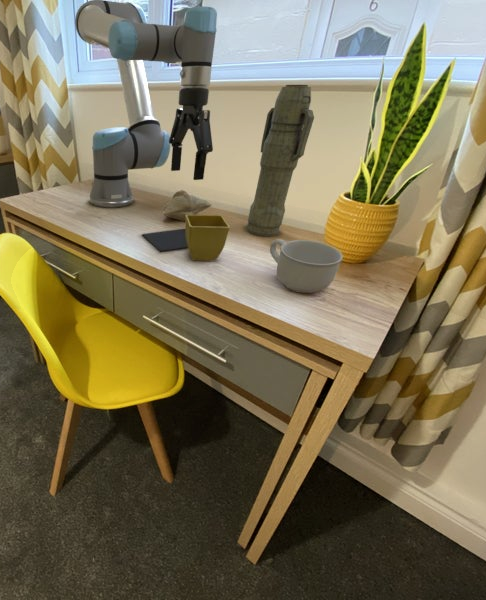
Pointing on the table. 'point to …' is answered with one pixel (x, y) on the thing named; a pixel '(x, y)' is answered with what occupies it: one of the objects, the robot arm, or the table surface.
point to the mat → (167, 240)
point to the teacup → (306, 264)
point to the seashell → (184, 205)
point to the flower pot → (205, 236)
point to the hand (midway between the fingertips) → (186, 174)
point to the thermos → (280, 157)
